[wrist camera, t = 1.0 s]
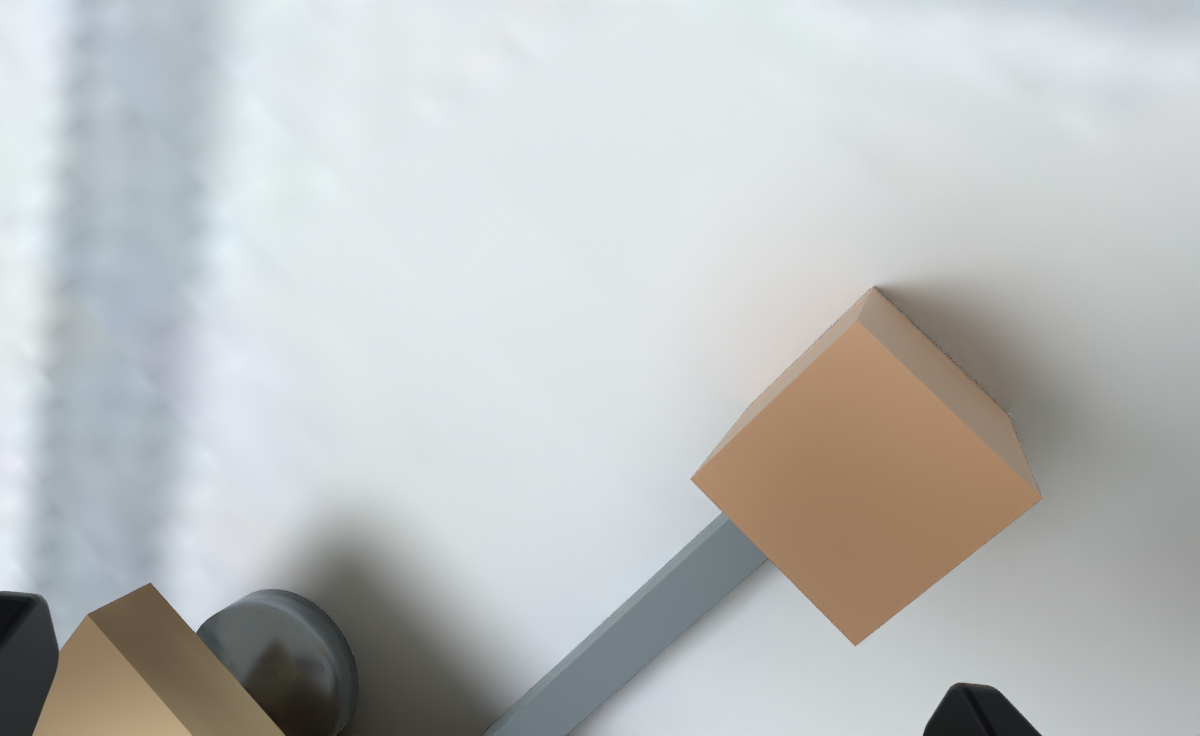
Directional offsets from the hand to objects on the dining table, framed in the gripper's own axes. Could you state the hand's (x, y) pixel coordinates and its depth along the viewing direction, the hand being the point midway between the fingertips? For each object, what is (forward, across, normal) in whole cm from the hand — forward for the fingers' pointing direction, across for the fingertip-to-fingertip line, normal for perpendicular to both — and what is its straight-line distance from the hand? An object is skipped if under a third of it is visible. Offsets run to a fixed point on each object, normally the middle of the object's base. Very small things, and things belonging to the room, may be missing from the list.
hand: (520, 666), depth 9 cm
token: (+12, +5, +17) cm, 22 cm away
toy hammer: (+10, -5, +9) cm, 14 cm away
